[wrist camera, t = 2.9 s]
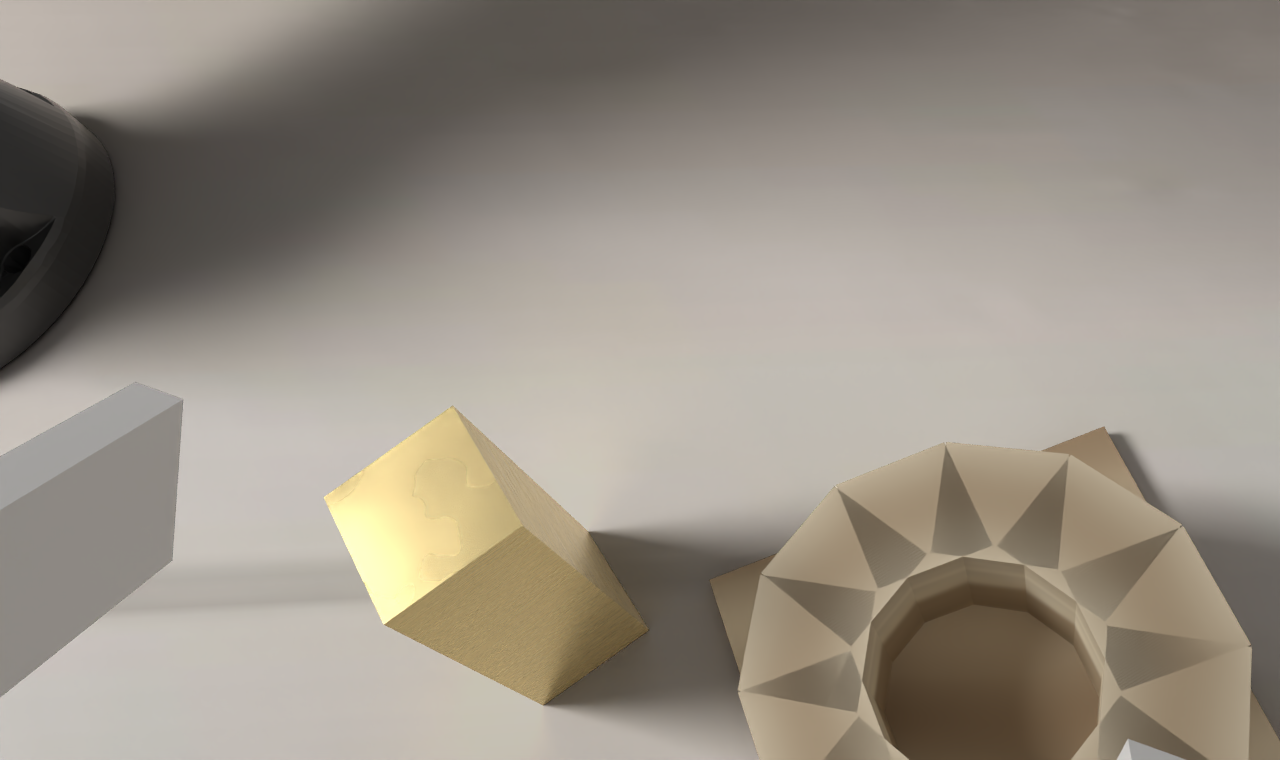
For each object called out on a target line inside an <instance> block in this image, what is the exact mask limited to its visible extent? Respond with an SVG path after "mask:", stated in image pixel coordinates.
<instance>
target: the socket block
mask: <svg viewBox="0 0 1280 760" xmlns="http://www.w3.org/2000/svg"><path fill="white" fill-rule="evenodd" d="M836 486H837V488H836V487H835V486H834V487H833V488H832V490H831V491H830V492H829V493H828V494H827V496H826V497H825V498H824V499H823V500H822V501H821V503H820V504H819V505H818V506H817V507H816V509H815V510H814V511H813V512H812V513H811V514H810V516H809V517H808V518H807V519H806V520H805V522H804V523H803V524H802V525H801V526H800V527H799V529H798V530H797V531H796V532H795V533H794V535H793V536H792V537H791V538H790V539H789V540H788V542H787V543H786V544H785V545H784V546H783V548H782V549H781V550H780V551H779V552H778V553H777V554H774V555H772V556H769V557H767V558H764V559H762V560H759V561H756V562H754V563H751V564H749V565H746V566H743V567H741V568H738V569H736V570H733V571H731V572H728V573H725V574H723V575H720V576H718V577H715V578H713V579H710V580H709V581H710V584H711V587H712V590H713V593H714V596H715V599H716V602H717V605H718V608H719V611H720V614H721V617H722V621H723V624H724V627H725V630H726V633H727V636H728V639H729V642H730V645H731V648H732V651H733V654H734V657H735V660H736V663H737V666H738V669H739V672H740V681H739V686H738V691H739V692H738V695H739V698H740V701H741V704H742V707H743V710H744V713H745V716H746V719H747V722H748V726H749V729H750V732H751V735H752V738H753V741H754V744H755V747H756V750H757V753H758V756H759V760H1117V758H1118V756H1119V754H1120V753H1121V751H1122V749H1123V747H1124V745H1125V743H1126V741H1127V739H1130V740H1133V741H1136V742H1138V743H1141V744H1144V745H1147V746H1150V747H1152V748H1155V749H1158V750H1161V751H1163V752H1166V753H1169V754H1172V755H1175V756H1177V757H1180V758H1183V759H1186V760H1280V740H1279V738H1278V737H1277V735H1276V733H1275V731H1274V730H1273V728H1272V726H1271V724H1270V722H1269V721H1268V719H1267V717H1266V715H1265V713H1264V712H1263V710H1262V708H1261V706H1260V704H1259V703H1258V701H1257V699H1256V697H1255V696H1254V694H1253V692H1252V690H1251V659H1252V647H1250V646H1251V643H1250V642H1249V640H1248V638H1247V636H1246V635H1245V633H1244V631H1243V629H1242V628H1241V626H1240V624H1239V622H1238V621H1237V619H1236V617H1235V615H1234V614H1233V612H1232V610H1231V608H1230V607H1229V605H1228V603H1227V601H1226V600H1225V598H1224V596H1223V594H1222V593H1221V591H1220V589H1219V587H1218V586H1217V584H1216V582H1215V580H1214V579H1213V577H1212V575H1211V573H1210V572H1209V570H1208V568H1207V566H1206V565H1205V563H1204V561H1203V559H1202V558H1201V556H1200V554H1199V552H1198V551H1197V549H1196V547H1195V545H1194V544H1193V542H1192V540H1191V538H1190V537H1189V535H1188V533H1187V531H1186V530H1185V528H1184V526H1183V527H1181V526H1182V524H1180V523H1179V522H1177V521H1176V520H1174V519H1172V518H1171V517H1169V516H1168V515H1166V514H1164V513H1163V512H1161V511H1160V510H1158V509H1156V508H1155V507H1153V506H1152V505H1150V504H1149V503H1147V502H1146V501H1145V499H1144V497H1143V495H1142V494H1141V492H1140V490H1139V488H1138V486H1137V485H1136V483H1135V481H1134V479H1133V477H1132V476H1131V474H1130V472H1129V470H1128V468H1127V467H1126V465H1125V463H1124V461H1123V460H1122V458H1121V456H1120V454H1119V452H1118V451H1117V449H1116V447H1115V445H1114V443H1113V442H1112V440H1111V438H1110V436H1109V435H1108V433H1107V431H1106V429H1105V427H1102V428H1099V429H1096V430H1094V431H1091V432H1089V433H1086V434H1084V435H1081V436H1078V437H1076V438H1073V439H1071V440H1068V441H1065V442H1063V443H1060V444H1058V445H1055V446H1053V447H1050V448H1047V449H1045V450H1042V451H1033V450H1022V449H1012V448H1002V447H991V446H981V445H971V444H960V443H950V442H946V445H945V443H941V444H939V445H936V446H934V447H931V448H929V449H926V450H924V451H921V452H919V453H916V454H913V455H911V456H908V457H906V458H903V459H901V460H898V461H896V462H893V463H891V464H888V465H886V466H883V467H880V468H878V469H875V470H873V471H870V472H868V473H865V474H863V475H860V476H858V477H855V478H853V479H850V480H847V481H845V482H842V483H840V484H837V485H836Z"/></svg>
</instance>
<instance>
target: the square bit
mask: <svg viewBox="0 0 1280 760" xmlns="http://www.w3.org/2000/svg"><path fill="white" fill-rule="evenodd" d="M324 499H325V501H326V503H327V505H328V507H329V509H330V512H331V514H332V516H333V518H334V520H335V522H336V524H337V526H338V529H339V531H340V533H341V535H342V537H343V539H344V541H345V543H346V546H347V548H348V550H349V552H350V554H351V556H352V558H353V560H354V563H355V565H356V567H357V569H358V571H359V573H360V575H361V577H362V580H363V582H364V584H365V586H366V588H367V590H368V592H369V594H370V597H371V599H372V601H373V603H374V605H375V607H376V609H377V611H378V614H379V616H380V618H381V620H382V622H383V624H384V625H386V626H388V627H390V628H392V629H394V630H396V631H398V632H400V633H401V634H403V635H405V636H407V637H409V638H411V639H413V640H415V641H417V642H419V643H421V644H423V645H425V646H427V647H429V648H431V649H433V650H435V651H437V652H439V653H441V654H443V655H445V656H447V657H449V658H451V659H453V660H455V661H457V662H459V663H461V664H463V665H465V666H467V667H469V668H470V669H472V670H474V671H476V672H478V673H480V674H482V675H484V676H486V677H488V678H490V679H492V680H494V681H496V682H498V683H500V684H502V685H504V686H506V687H508V688H510V689H512V690H514V691H516V692H518V693H520V694H522V695H524V696H526V697H528V698H530V699H532V700H534V701H536V702H538V703H539V704H541V705H545V704H546V703H547V702H549V701H550V700H552V699H553V698H555V697H556V696H557V695H559V694H560V693H562V692H563V691H564V690H566V689H567V688H569V687H570V686H571V685H573V684H574V683H576V682H577V681H578V680H580V679H581V678H583V677H584V676H585V675H587V674H588V673H590V672H591V671H592V670H594V669H595V668H597V667H598V666H599V665H601V664H602V663H604V662H605V661H606V660H608V659H609V658H611V657H612V656H613V655H615V654H616V653H618V652H619V651H620V650H622V649H623V648H625V647H626V646H627V645H629V644H630V643H632V642H633V641H634V640H636V639H637V638H639V637H640V636H641V635H643V634H644V633H646V632H647V631H649V629H648V628H647V626H646V624H645V623H644V621H643V619H642V618H641V616H640V615H639V613H638V611H637V610H636V608H635V606H634V605H633V603H632V602H631V600H630V598H629V597H628V595H627V594H626V592H625V590H624V589H623V587H622V585H621V584H620V582H619V581H618V579H617V577H616V576H615V574H614V573H613V571H612V569H611V568H610V566H609V564H608V563H607V561H606V560H605V558H604V556H603V555H602V553H601V552H600V550H599V548H598V547H597V545H596V543H595V542H594V540H593V539H592V537H591V535H590V534H589V532H588V531H587V530H586V529H585V528H584V527H583V526H582V525H581V524H580V523H579V522H577V521H576V520H575V519H574V518H573V517H572V516H571V515H570V514H569V513H568V512H567V511H566V510H565V509H563V508H562V507H561V506H560V505H559V504H558V503H557V502H556V501H555V500H554V499H553V498H552V497H551V496H549V495H548V494H547V493H546V492H545V491H544V490H543V489H542V488H541V487H540V486H539V485H538V484H537V483H535V482H534V481H533V480H532V479H531V478H530V477H529V476H528V475H527V474H526V473H525V472H524V471H523V470H521V469H520V468H519V467H518V466H517V465H516V464H515V463H514V462H513V461H512V460H511V459H510V458H509V457H507V456H506V455H505V454H504V453H503V452H502V451H501V450H500V449H499V448H498V447H497V446H496V445H495V444H493V443H492V442H491V441H490V440H489V439H488V438H487V437H486V436H485V435H484V434H483V433H482V432H481V431H479V430H478V429H477V428H476V427H475V426H474V425H473V424H472V423H471V422H470V421H469V420H468V419H467V418H465V417H464V416H463V415H462V414H461V413H460V412H459V411H458V410H457V409H456V408H455V407H454V406H451V407H450V408H449V409H447V410H446V411H444V412H443V413H442V414H440V415H439V416H437V417H436V418H435V419H433V420H432V421H430V422H429V423H428V424H426V425H425V426H423V427H422V428H421V429H419V430H418V431H416V432H415V433H414V434H412V435H411V436H409V437H408V438H407V439H405V440H404V441H402V442H401V443H399V444H398V445H397V446H395V447H394V448H392V449H391V450H390V451H388V452H387V453H385V454H384V455H383V456H381V457H380V458H378V459H377V460H376V461H374V462H373V463H371V464H370V465H369V466H367V467H366V468H364V469H363V470H362V471H360V472H359V473H357V474H356V475H355V476H353V477H352V478H350V479H349V480H348V481H346V482H345V483H343V484H342V485H341V486H339V487H338V488H336V489H335V490H333V491H332V492H331V493H329V494H328V495H326V496H325V497H324Z"/></svg>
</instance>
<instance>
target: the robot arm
mask: <svg viewBox="0 0 1280 760" xmlns="http://www.w3.org/2000/svg"><path fill="white" fill-rule="evenodd" d="M113 205H114V175H113V170H112V165H111V162H110V159H109V157H108V154H107V152H106V150H105V148H104V147H103V145H102V144H101V142H100V141H99V140H98V138H97V137H96V136H95V135H94V134H93V133H92V132H90V131H89V130H88V129H87V128H86V127H85V126H83V125H82V124H81V123H80V122H79V121H78V120H76V119H75V118H74V117H73V116H72V115H71V114H69V113H68V112H67V111H66V110H65V109H63V108H62V107H61V106H60V105H58V104H57V103H55V102H53V101H52V100H50V99H49V98H47V97H45V96H43V95H40V94H37V93H34V92H31V91H28V90H25V89H22V88H19V87H16V86H14V85H11V84H9V83H7V82H5V81H3V80H1V79H0V368H2V367H3V366H5V365H6V364H7V363H9V362H10V361H12V360H13V359H14V358H16V357H17V356H18V355H19V354H21V353H22V352H23V351H24V350H26V349H27V348H28V347H29V346H30V345H31V344H32V343H34V342H35V341H36V340H37V339H38V338H39V337H40V336H41V335H42V334H43V333H44V332H45V331H46V330H47V329H48V328H49V327H50V326H51V325H52V324H53V323H54V322H55V320H56V319H57V318H58V317H59V316H60V315H61V313H62V312H63V311H64V310H65V308H66V307H67V306H68V305H69V303H70V302H71V301H72V299H73V298H74V297H75V295H76V294H77V292H78V291H79V289H80V288H81V286H82V285H83V283H84V281H85V280H86V278H87V276H88V275H89V273H90V271H91V269H92V268H93V266H94V264H95V262H96V259H97V257H98V255H99V253H100V251H101V248H102V246H103V243H104V241H105V238H106V235H107V232H108V228H109V225H110V221H111V216H112V211H113ZM182 411H183V399H181V398H178V397H176V396H173V395H170V394H167V393H165V392H162V391H159V390H156V389H153V388H151V387H148V386H145V385H142V384H139V383H137V382H135V383H133V384H131V385H129V386H127V387H125V388H124V389H122V390H120V391H118V392H116V393H115V394H113V395H111V396H109V397H107V398H105V399H104V400H102V401H100V402H98V403H96V404H95V405H93V406H91V407H89V408H87V409H85V410H84V411H82V412H80V413H78V414H76V415H75V416H73V417H71V418H69V419H67V420H66V421H64V422H62V423H60V424H58V425H56V426H55V427H53V428H51V429H49V430H47V431H46V432H44V433H42V434H40V435H38V436H36V437H35V438H33V439H31V440H29V441H27V442H26V443H24V444H22V445H20V446H18V447H16V448H15V449H13V450H11V451H9V452H7V453H6V454H4V455H2V456H0V697H1V696H3V695H4V694H5V693H6V692H8V691H9V690H10V689H11V688H13V687H14V686H15V685H16V684H18V683H19V682H20V681H21V680H23V679H24V678H25V677H26V676H28V675H29V674H30V673H31V672H33V671H34V670H35V669H36V668H38V667H39V666H40V665H41V664H43V663H44V662H45V661H47V660H48V659H49V658H50V657H52V656H53V655H54V654H55V653H57V652H58V651H59V650H60V649H62V648H63V647H64V646H65V645H67V644H68V643H69V642H70V641H72V640H73V639H74V638H75V637H77V636H78V635H79V634H80V633H82V632H83V631H84V630H86V629H87V628H88V627H89V626H91V625H92V624H93V623H94V622H96V621H97V620H98V619H99V618H101V617H102V616H103V615H104V614H106V613H107V612H108V611H109V610H111V609H112V608H113V607H114V606H116V605H117V604H118V603H119V602H121V601H122V600H123V599H124V598H126V597H127V596H128V595H130V594H131V593H132V592H133V591H135V590H136V589H137V588H138V587H140V586H141V585H142V584H143V583H145V582H146V581H147V580H148V579H150V578H151V577H152V576H153V575H155V574H156V573H157V572H158V571H160V570H161V569H162V568H163V567H165V566H166V565H167V564H169V563H170V562H171V561H172V557H173V542H174V528H175V513H176V499H177V484H178V469H179V455H180V440H181V425H182ZM1117 760H1186V759H1183V758H1180V757H1177V756H1175V755H1172V754H1169V753H1166V752H1163V751H1161V750H1158V749H1155V748H1152V747H1150V746H1147V745H1144V744H1141V743H1138V742H1136V741H1133V740H1130V739H1127V741H1126V743H1125V745H1124V747H1123V749H1122V751H1121V753H1120V754H1119V756H1118V758H1117Z"/></svg>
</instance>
